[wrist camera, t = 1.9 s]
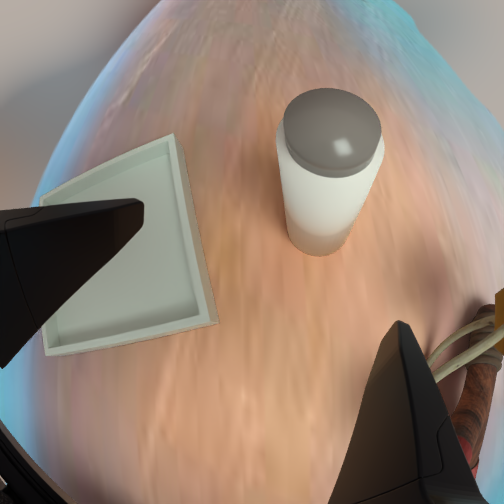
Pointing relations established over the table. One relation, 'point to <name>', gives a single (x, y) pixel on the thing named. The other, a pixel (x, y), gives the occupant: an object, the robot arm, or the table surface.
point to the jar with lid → (326, 166)
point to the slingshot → (475, 375)
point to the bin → (137, 258)
